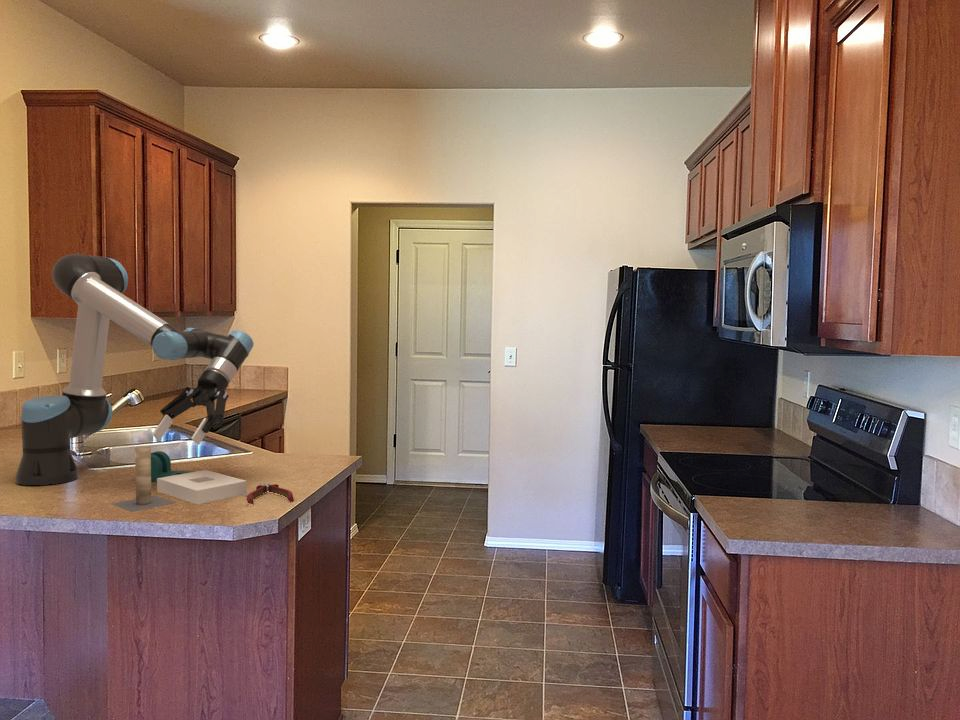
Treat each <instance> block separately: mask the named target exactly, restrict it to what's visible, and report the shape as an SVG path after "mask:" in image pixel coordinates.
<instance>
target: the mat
mask: <svg viewBox="0 0 960 720" xmlns="http://www.w3.org/2000/svg"><path fill="white" fill-rule="evenodd" d="M173 504H177V502H176V501H172V500H169V499H167V498H163V497H160V496H158V495H155V494H154V495H151V503H150V504H147V505H137V504H136V498H134V499H129V500H124V501H123V500H122V501H118V502H112V503H111V505H113V506H116V507H118V508H120V509H124V510H125V511H129V512H131V513H133V512H138V511H142V510H143V511H144V510H148V509H153V508H157V507H162V506H166V505H173Z"/></svg>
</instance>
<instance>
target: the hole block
mask: <svg viewBox="0 0 960 720" xmlns="http://www.w3.org/2000/svg"><path fill="white" fill-rule="evenodd" d="M156 488H157V489H156V491H157V492H158V493H161V494H162V495H163V494H164V495H167V496H170V497H172V498H176V499H177V500H183V501H185V502H188V503H191V504H194V505H197V506H198V505H203V504H206V503H212V502H216V501H221V500H226V499H230V498H235V497H243V496H244V497H247V496H248V480H245V479H242V478H238V477H237V478H236V477H233V476H229V475H227V474H222V473H218V472H215V471H212V470H207V469H204V470H197V471H196V472H191V473H185V474H179V475H173V476H167V477H162V478H157V482H156Z"/></svg>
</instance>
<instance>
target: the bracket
mask: <svg viewBox="0 0 960 720" xmlns="http://www.w3.org/2000/svg"><path fill="white" fill-rule="evenodd" d="M191 472H196V471H194V470H193V471H191V470H189V471H188V470H172V463H171V458H170V456H169V455H168V453H166V452H165V451H162V450H161V451H160V450H157V451H154V452H151V483H155V482H156V483H157V478H162V477H167V476H173V475H179V474H185V473H191Z"/></svg>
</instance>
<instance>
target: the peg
mask: <svg viewBox="0 0 960 720" xmlns="http://www.w3.org/2000/svg"><path fill="white" fill-rule="evenodd" d="M151 450H152V449H151V446H148V445H147V446H146V445H143V446H136V447H134V459H135V460H134V461H135V463H134V466H135V467H134V468H135V471H134V472H135V478H134V479H135V499H136V504H137V505H147V504H150V503H151V496H152V482H151V453H152V452H151Z"/></svg>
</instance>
